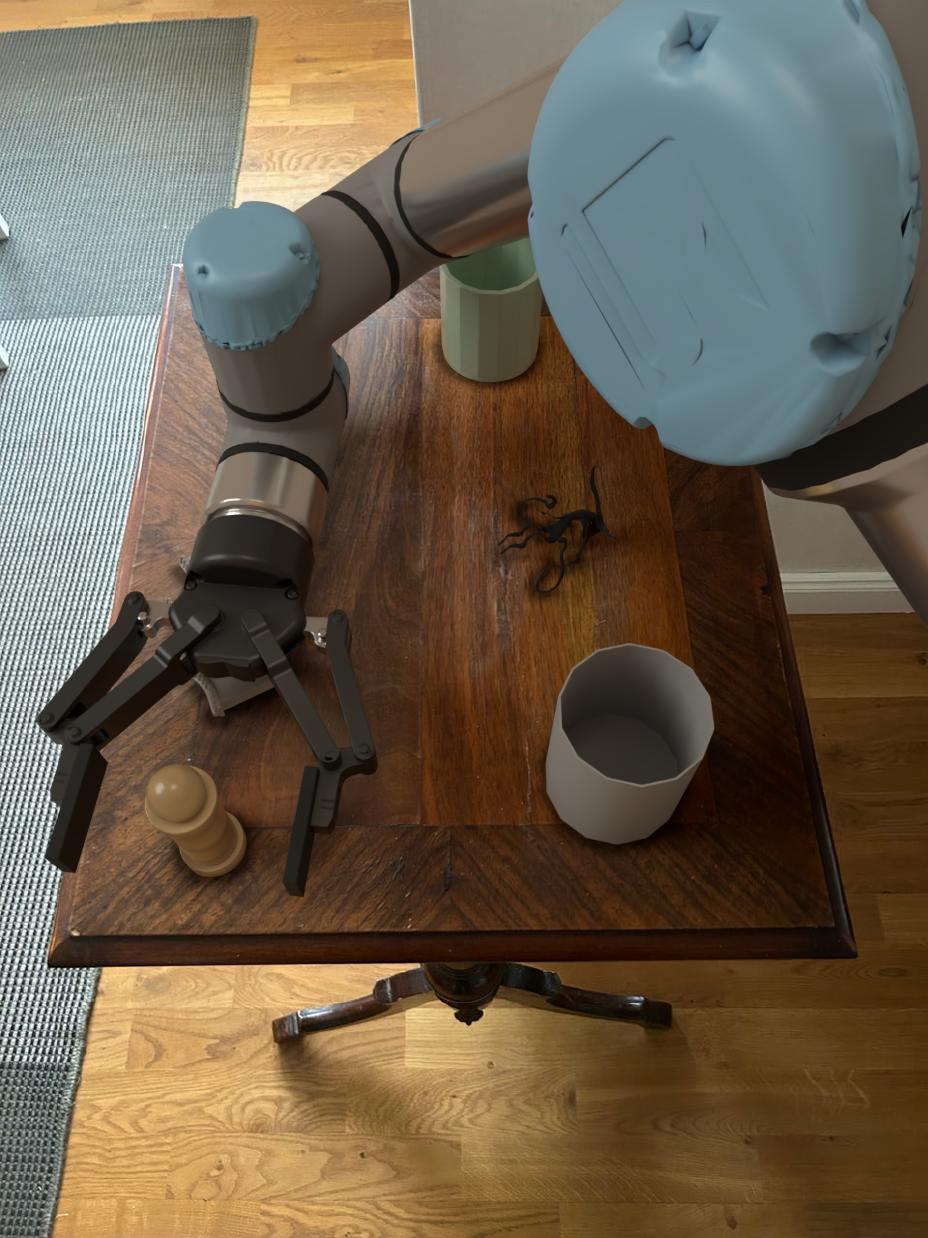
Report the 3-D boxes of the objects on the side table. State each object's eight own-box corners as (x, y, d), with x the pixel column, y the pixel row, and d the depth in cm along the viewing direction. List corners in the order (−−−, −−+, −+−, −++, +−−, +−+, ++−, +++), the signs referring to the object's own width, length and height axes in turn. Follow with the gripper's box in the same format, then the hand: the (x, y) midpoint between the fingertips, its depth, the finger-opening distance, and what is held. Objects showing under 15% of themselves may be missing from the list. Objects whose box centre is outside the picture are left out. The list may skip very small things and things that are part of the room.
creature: (514, 609, 70) (626, 579, 69) (499, 571, 66) (620, 539, 65) (493, 517, 74) (599, 488, 73) (478, 475, 69) (591, 444, 68)
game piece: (251, 817, 62) (212, 749, 52) (241, 879, 60) (199, 820, 50) (189, 814, 62) (139, 746, 52) (178, 875, 60) (123, 817, 51)
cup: (687, 732, 64) (722, 661, 56) (671, 857, 61) (705, 801, 52) (557, 705, 65) (571, 631, 57) (532, 825, 61) (543, 766, 53)
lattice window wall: (223, 551, 71) (143, 585, 70) (217, 536, 70) (135, 571, 68) (291, 685, 66) (207, 725, 65) (287, 673, 65) (200, 714, 63)
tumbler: (538, 314, 83) (545, 222, 75) (536, 384, 79) (544, 295, 71) (445, 310, 83) (443, 219, 75) (439, 380, 79) (436, 292, 71)
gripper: (447, 589, 67) (404, 918, 57) (92, 558, 68) (-15, 873, 58) (445, 525, 61) (396, 882, 50) (52, 491, 62) (-76, 833, 51)
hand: (175, 878), depth 54 cm, fingers open, 12 cm apart
